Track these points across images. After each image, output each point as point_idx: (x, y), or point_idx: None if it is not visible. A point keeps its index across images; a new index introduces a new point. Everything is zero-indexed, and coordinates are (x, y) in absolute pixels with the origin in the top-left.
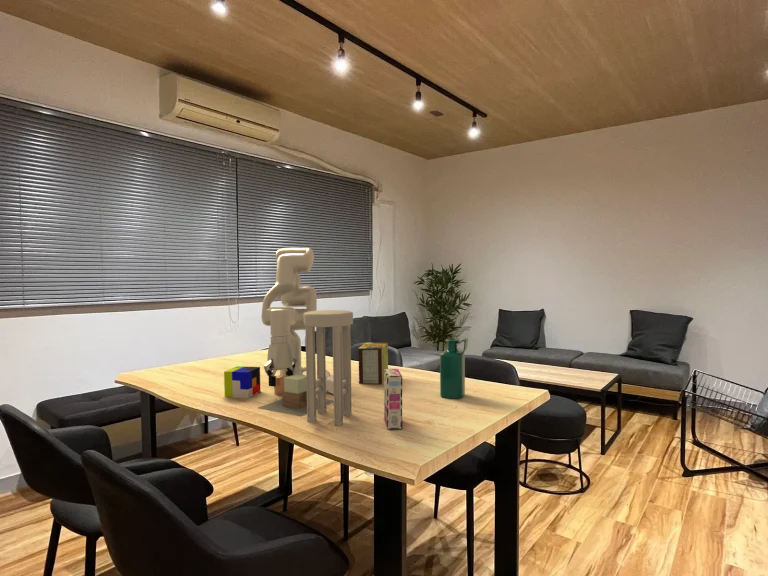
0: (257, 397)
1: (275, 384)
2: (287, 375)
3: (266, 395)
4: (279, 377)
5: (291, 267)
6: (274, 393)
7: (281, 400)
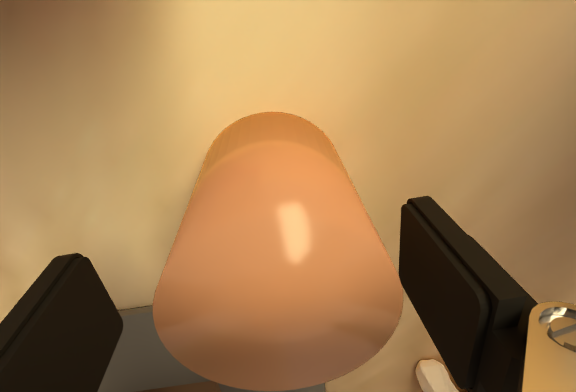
0: (15, 80)
1: (108, 346)
2: (394, 327)
3: (136, 95)
4: (221, 339)
5: None
6: (208, 153)
7: (141, 330)
